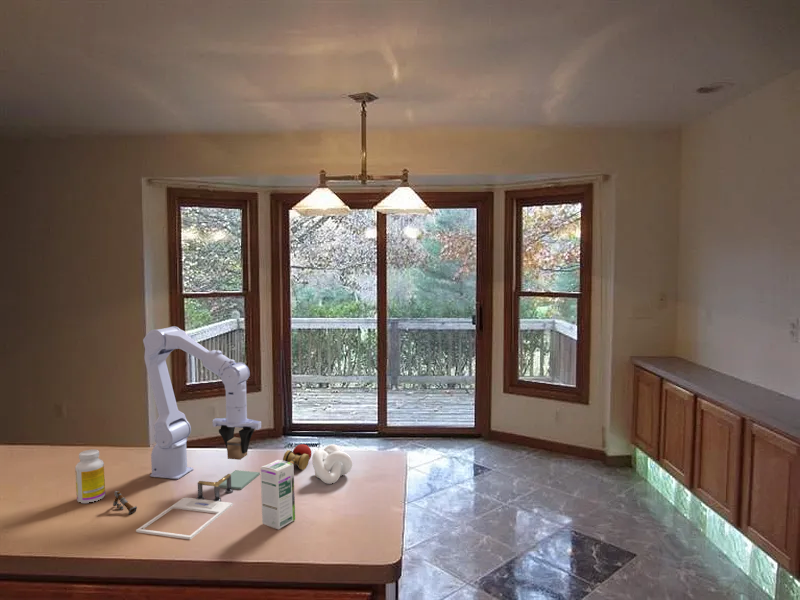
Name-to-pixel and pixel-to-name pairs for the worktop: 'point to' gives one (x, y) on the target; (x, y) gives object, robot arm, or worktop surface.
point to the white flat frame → (193, 506)
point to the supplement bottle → (90, 477)
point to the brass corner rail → (215, 487)
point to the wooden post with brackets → (124, 502)
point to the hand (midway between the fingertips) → (237, 451)
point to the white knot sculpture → (331, 463)
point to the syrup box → (277, 494)
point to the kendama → (298, 456)
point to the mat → (240, 479)
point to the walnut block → (235, 449)
